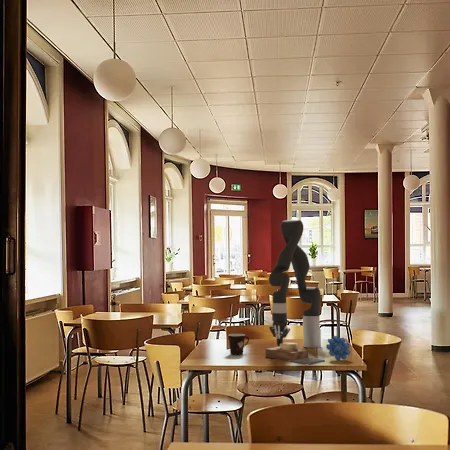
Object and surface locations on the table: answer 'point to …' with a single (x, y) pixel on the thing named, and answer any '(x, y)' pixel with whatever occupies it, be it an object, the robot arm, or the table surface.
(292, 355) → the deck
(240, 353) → the coffee mug
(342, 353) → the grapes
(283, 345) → the tan domed disc
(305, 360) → the slate board
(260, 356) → the table surface
